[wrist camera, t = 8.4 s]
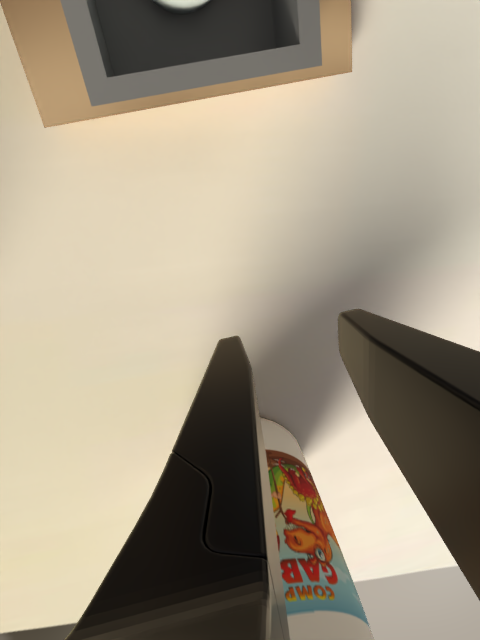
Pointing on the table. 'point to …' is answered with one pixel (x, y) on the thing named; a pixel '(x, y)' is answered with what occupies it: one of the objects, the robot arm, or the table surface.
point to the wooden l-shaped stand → (74, 105)
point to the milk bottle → (309, 549)
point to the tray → (188, 43)
